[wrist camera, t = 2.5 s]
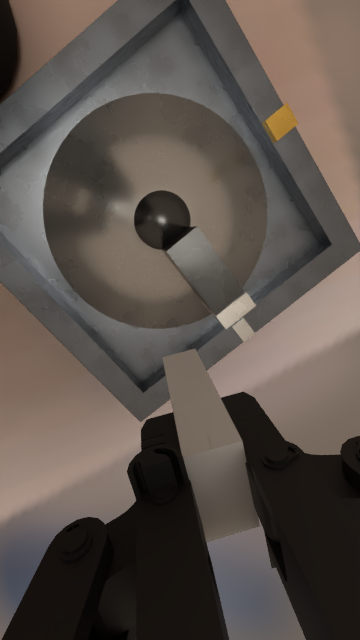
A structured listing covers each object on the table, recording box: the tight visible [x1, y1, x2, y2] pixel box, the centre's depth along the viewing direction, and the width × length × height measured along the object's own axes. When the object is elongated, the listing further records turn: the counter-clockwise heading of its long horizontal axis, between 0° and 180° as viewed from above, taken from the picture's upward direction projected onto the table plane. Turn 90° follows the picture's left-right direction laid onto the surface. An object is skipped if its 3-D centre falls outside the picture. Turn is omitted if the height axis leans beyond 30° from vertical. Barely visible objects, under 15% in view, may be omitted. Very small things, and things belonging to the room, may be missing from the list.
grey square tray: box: [0, 0, 360, 422], centre depth 25 cm, size 24×24×5 cm
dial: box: [43, 93, 267, 329], centre depth 22 cm, size 17×17×6 cm
